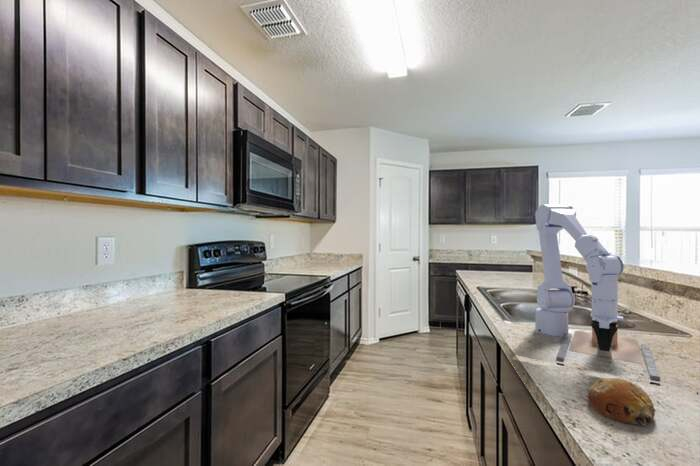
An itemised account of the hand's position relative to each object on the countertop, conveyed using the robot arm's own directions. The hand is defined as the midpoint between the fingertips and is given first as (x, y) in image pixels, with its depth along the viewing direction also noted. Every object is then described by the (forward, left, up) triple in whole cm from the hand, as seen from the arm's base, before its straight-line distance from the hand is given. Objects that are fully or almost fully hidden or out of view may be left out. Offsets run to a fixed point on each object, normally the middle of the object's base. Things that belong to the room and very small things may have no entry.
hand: (604, 348), depth 90 cm
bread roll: (+3, -31, -3) cm, 32 cm away
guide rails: (0, +1, -3) cm, 3 cm away
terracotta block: (0, +14, -2) cm, 14 cm away
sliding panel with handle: (0, +10, -3) cm, 10 cm away
